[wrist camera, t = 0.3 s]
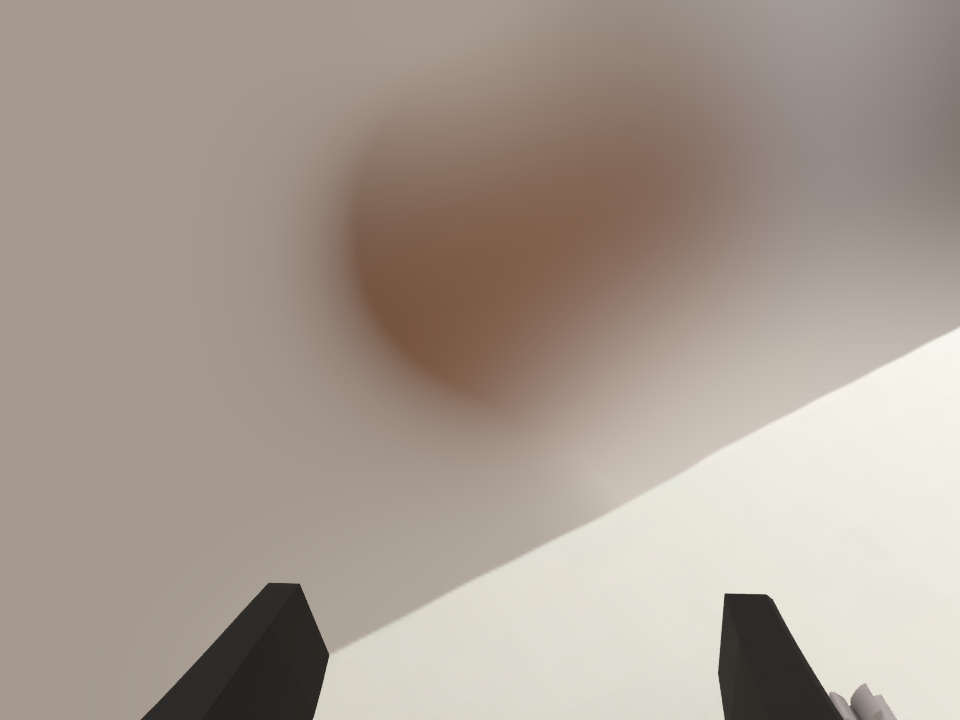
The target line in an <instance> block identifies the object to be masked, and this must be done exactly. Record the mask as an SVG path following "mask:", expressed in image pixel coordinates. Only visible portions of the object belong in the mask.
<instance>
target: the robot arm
mask: <svg viewBox="0 0 960 720" xmlns="http://www.w3.org/2000/svg"><path fill="white" fill-rule="evenodd" d="M328 659H329V653H328V651H327V648H326V646H325V644H324V641H323V639H322V637H321V634H320V631H319V629H318V627H317V624H316V622H315V620H314V617H313V615H312V612H311V610H310V608H309V605H308V603H307V600H306V598H305V595H304V593H303V591H302V588H301V586H300V584H291V583H290V584H289V583H268V584H267V585H266V586H265V587H264V588H263V590H262V591H261V592H260V593H259V594H258V595H257V596H256V597H255V598H254V599H253V600H252V601H251V603H249V605H248V606H247V607H246V608H245V609H244V610H243V611H242V612H241V613H240V614H239V615H238V617H237V618H236V619H235V620H234V621H233V622H232V623H231V624H230V626H229V627H228V628H227V629H226V630H225V631H224V632H223V633H222V634H221V635H220V637H219V638H218V639H217V640H216V641H215V642H214V643H213V644H212V645H211V646H210V647H209V649H208V650H207V651H206V652H205V653H204V654H203V655H202V656H201V657H200V658H199V659H198V660H197V662H196V663H195V664H194V665H193V666H192V667H191V668H190V669H189V670H188V671H187V672H186V673H185V674H184V675H183V676H182V678H181V679H180V680H179V681H178V682H177V683H176V684H175V685H174V686H173V687H172V688H171V689H170V690H169V691H168V692H167V693H166V695H165V696H164V697H163V698H162V699H161V700H160V701H159V702H158V703H157V704H156V705H155V706H154V707H153V708H152V709H151V710H150V711H149V712H148V713H147V714H146V715H145V716H144V717H143V718H142V719H141V720H313V717H314V714H315V710H316V707H317V703H318V699H319V695H320V692H321V688H322V684H323V680H324V675H325V671H326V667H327V663H328ZM718 676H719V682H720V689H721V696H722V703H723V710H724V717H725V720H844V719H843V717H842V716H841V714H840V713H839V711H838V710H837V708H836V707H835V705H834V704H833V702H832V701H831V699H830V697H829V696H828V694H827V693H826V691H825V690H824V688H823V686H822V685H821V683H820V682H819V680H818V678H817V677H816V675H815V673H814V672H813V670H812V669H811V667H810V665H809V664H808V662H807V660H806V659H805V657H804V655H803V654H802V652H801V650H800V649H799V647H798V645H797V643H796V642H795V640H794V638H793V636H792V635H791V633H790V631H789V629H788V627H787V626H786V624H785V622H784V620H783V618H782V616H781V614H780V613H779V611H778V609H777V607H776V605H775V603H774V601H773V599H771V598H770V597H769V596H768V595H765V594H725V596H724V608H723V620H722V633H721V645H720V657H719V669H718Z"/></svg>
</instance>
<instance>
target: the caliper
mask: <svg viewBox="0 0 960 720" xmlns="http://www.w3.org/2000/svg"><path fill="white" fill-rule="evenodd" d="M829 696H830V699H831V701H832V702H833V704H834V705H835V707H836V708H837V710H838V711H839V713H840V714H841V716H842V717H843V719H844V720H897V719H896V718H895V716H894V714H893V713H892V711H891V710H890V708H889V706H888V705H887V703H886V702H885V700H884V698H883V697H882V695H877V696H873V695H872V694H871V692H870V690H869V689H868V687H867V685H866V684H863V685H861V686H860V687H859V688H858V689H857V690H856V691H855V693H854V694H853V696H852V697H851V706H848V704H847V702H846V700H845V699H844V698H843V697H842V696H840V695H838V694H837V693H835V692H830V693H829Z"/></svg>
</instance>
